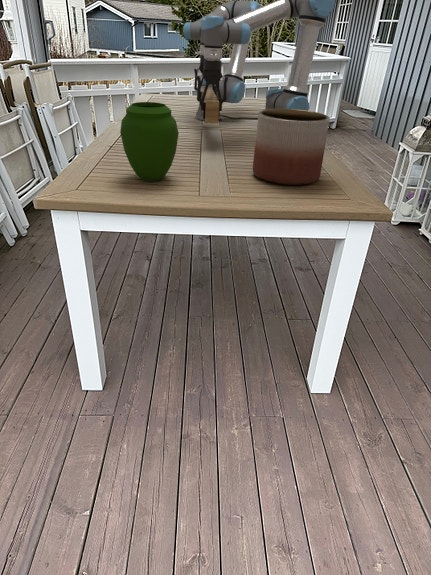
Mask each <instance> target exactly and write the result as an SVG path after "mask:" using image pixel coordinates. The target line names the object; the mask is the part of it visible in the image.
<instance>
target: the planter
mask: <svg viewBox="0 0 431 575" xmlns="http://www.w3.org/2000/svg"><path fill="white" fill-rule="evenodd" d="M257 118H258V119H257V123H256V133H255V134H256V135H255V141H254V142H255V143H254V150H253V151H254V152H253V160H252V173H253V174H254V175H255V176H256V177H257V178H259V179H261V180H263V181H265V182H269V183H271V184H276V185H283V186H302V185H308V184H311V183H314V182H315V181H317V180H319V179H320V177H321V173H322V167H323V166H322V165H323V161H324V154H325V151H326V150H325V149H326V142H327V138H328V131H329V126H330V120H331V119H330V116H329V115H327V114H324V113H321V112H317V111H314V110H313V111H312V110H309V111H306V110H297V109H266V110H265V109H262V110H259V111H258V114H257Z"/></svg>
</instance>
